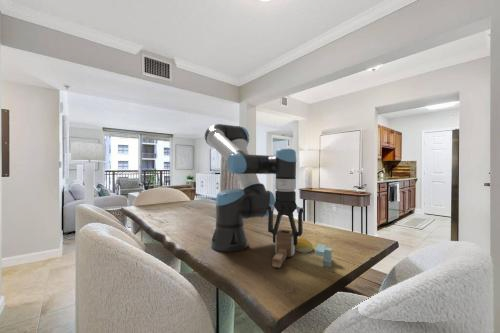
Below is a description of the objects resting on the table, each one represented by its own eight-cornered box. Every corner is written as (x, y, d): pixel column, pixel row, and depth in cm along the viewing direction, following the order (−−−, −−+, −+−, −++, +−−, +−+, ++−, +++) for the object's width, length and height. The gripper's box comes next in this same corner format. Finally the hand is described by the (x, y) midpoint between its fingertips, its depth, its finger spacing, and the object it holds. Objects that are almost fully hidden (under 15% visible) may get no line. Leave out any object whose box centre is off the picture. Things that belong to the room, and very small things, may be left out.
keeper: (315, 265, 76) (315, 251, 76) (317, 256, 83) (317, 244, 83) (331, 267, 74) (331, 253, 74) (331, 258, 81) (331, 245, 82)
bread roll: (291, 252, 88) (291, 242, 88) (292, 245, 97) (292, 235, 97) (313, 254, 86) (313, 244, 86) (312, 246, 95) (312, 237, 95)
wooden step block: (284, 268, 71) (284, 242, 71) (268, 265, 73) (268, 240, 73) (293, 252, 85) (293, 230, 85) (279, 250, 87) (279, 229, 87)
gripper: (259, 189, 84) (258, 252, 84) (309, 192, 77) (308, 260, 77) (265, 188, 91) (264, 246, 91) (311, 190, 84) (311, 252, 84)
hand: (284, 252), depth 84 cm, fingers closed on wooden step block, 5 cm apart
